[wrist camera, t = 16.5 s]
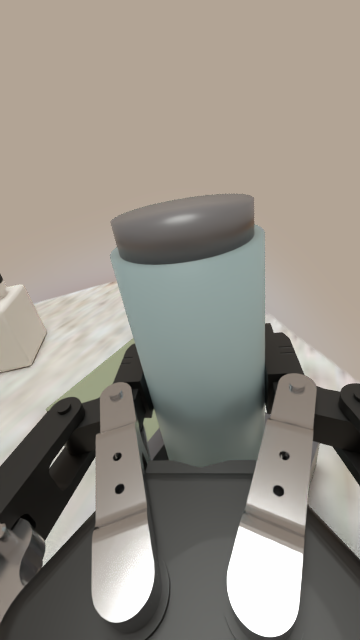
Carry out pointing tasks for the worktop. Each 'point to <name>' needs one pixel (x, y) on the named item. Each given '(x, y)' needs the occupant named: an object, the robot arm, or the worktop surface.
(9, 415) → the worktop surface
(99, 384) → the rubber mat
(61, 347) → the worktop surface
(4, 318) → the medicine bottle
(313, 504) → the worktop surface
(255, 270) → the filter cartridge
